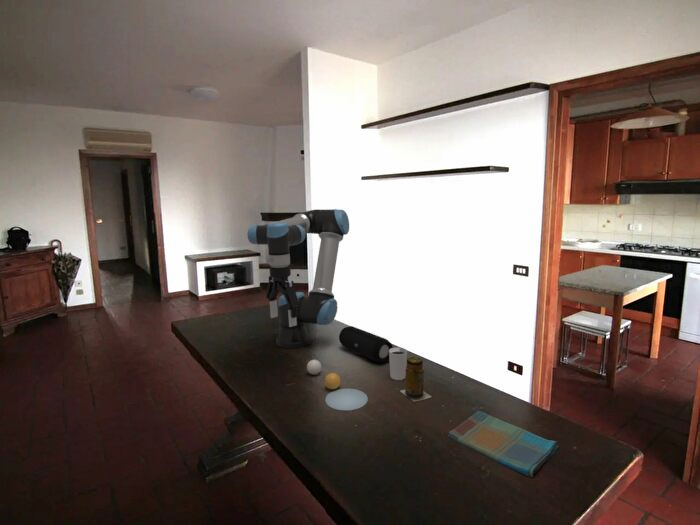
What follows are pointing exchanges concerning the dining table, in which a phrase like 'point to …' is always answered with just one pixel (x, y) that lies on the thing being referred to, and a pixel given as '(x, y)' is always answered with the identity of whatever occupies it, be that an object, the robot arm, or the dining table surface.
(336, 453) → the dining table surface
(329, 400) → the blue mark
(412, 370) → the condiment
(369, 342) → the portable speaker
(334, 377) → the orange ball
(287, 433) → the dining table surface
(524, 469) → the dish towel
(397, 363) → the white cup
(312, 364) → the ivory ball
